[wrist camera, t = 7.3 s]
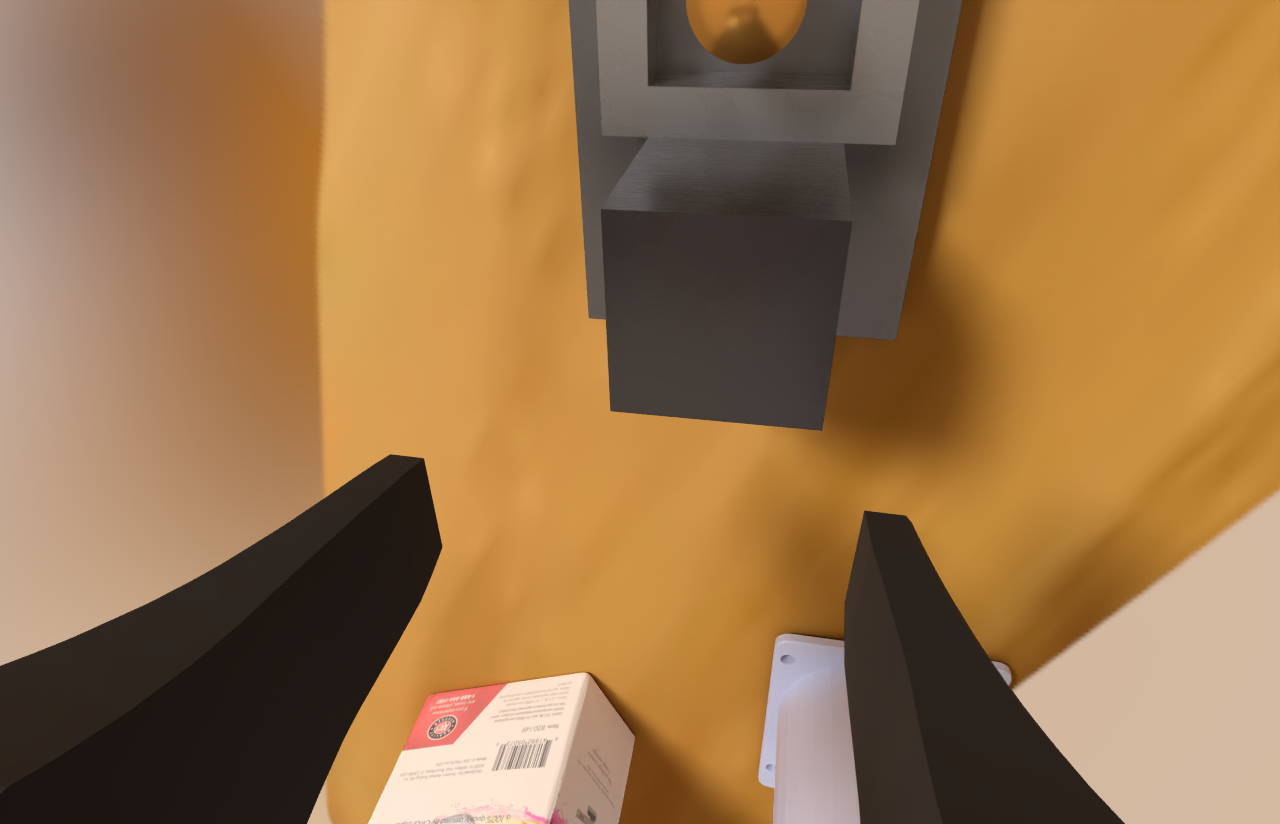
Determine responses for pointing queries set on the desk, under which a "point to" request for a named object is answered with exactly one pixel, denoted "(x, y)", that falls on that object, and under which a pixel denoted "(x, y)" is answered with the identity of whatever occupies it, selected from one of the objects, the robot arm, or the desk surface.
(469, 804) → the ink cartridge box
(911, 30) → the link
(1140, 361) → the desk surface
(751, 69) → the frame
